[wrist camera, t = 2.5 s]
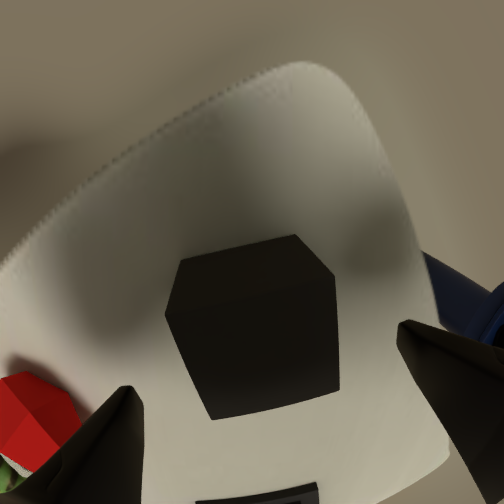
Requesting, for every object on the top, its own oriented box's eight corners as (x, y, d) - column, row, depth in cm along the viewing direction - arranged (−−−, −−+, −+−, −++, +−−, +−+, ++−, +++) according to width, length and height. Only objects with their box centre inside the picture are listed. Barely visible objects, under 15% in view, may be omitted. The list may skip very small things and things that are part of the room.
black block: (295, 233, 12) (335, 275, 8) (308, 328, 14) (340, 390, 10) (180, 259, 12) (163, 314, 8) (210, 351, 14) (211, 420, 10)
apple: (-39, 421, 8) (43, 516, 8) (-30, 364, 8) (72, 489, 8) (18, 395, 15) (87, 469, 14) (43, 343, 15) (125, 430, 15)
